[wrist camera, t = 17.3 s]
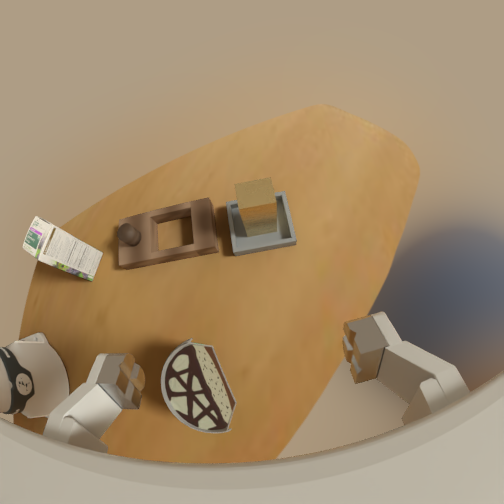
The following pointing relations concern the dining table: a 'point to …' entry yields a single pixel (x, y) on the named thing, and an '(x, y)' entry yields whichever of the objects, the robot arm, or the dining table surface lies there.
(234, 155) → the dining table surface
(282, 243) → the tray
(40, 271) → the dining table surface
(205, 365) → the food container
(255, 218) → the gold rectangular block
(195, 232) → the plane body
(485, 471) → the robot arm
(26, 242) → the syrup box
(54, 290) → the dining table surface
